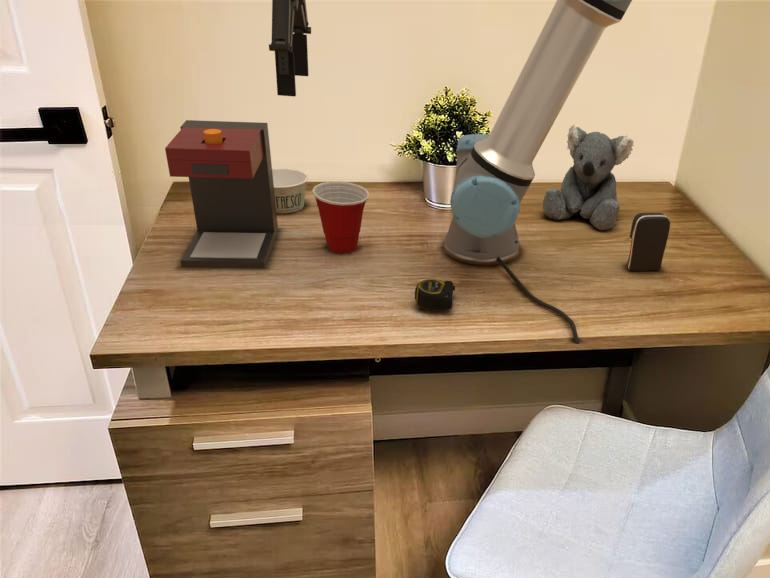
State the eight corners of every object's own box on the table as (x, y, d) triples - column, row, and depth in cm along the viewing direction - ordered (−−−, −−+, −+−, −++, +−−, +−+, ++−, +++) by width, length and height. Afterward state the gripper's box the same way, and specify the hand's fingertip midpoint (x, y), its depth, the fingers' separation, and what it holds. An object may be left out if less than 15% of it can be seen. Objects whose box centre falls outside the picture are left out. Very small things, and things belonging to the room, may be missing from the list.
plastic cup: (360, 262, 142) (358, 203, 135) (307, 254, 143) (303, 196, 137) (378, 240, 151) (377, 184, 144) (328, 233, 152) (324, 177, 146)
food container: (290, 191, 170) (288, 164, 167) (321, 207, 164) (319, 179, 160) (244, 203, 163) (240, 175, 159) (274, 220, 156) (271, 190, 153)
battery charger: (654, 262, 150) (665, 209, 143) (661, 271, 146) (673, 217, 140) (622, 263, 148) (631, 210, 142) (628, 272, 145) (638, 217, 139)
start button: (221, 148, 129) (219, 134, 128) (203, 147, 129) (201, 133, 127) (224, 143, 131) (222, 129, 130) (207, 142, 131) (205, 128, 130)
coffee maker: (264, 268, 137) (251, 152, 125) (181, 267, 136) (160, 149, 124) (278, 229, 152) (267, 122, 140) (203, 228, 151) (186, 120, 139)
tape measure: (451, 316, 127) (452, 297, 125) (412, 313, 127) (412, 294, 125) (454, 297, 132) (455, 278, 130) (417, 294, 132) (417, 275, 130)
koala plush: (537, 218, 165) (546, 131, 155) (561, 194, 180) (571, 112, 169) (612, 234, 160) (627, 145, 150) (630, 208, 174) (645, 125, 164)
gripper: (275, -72, 118) (283, 66, 130) (241, -61, 98) (254, 103, 109) (322, -68, 119) (326, 69, 131) (298, -55, 98) (305, 106, 110)
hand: (293, 85), depth 120 cm, fingers open, 13 cm apart
